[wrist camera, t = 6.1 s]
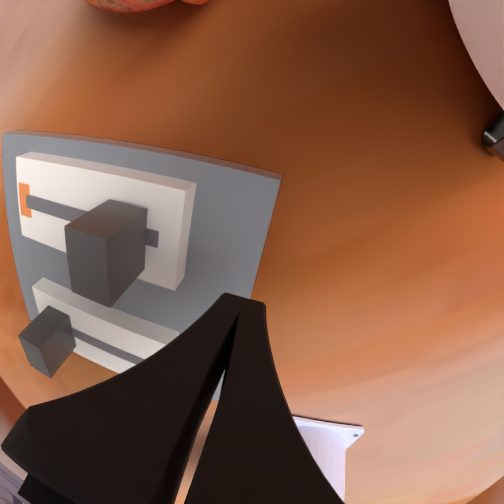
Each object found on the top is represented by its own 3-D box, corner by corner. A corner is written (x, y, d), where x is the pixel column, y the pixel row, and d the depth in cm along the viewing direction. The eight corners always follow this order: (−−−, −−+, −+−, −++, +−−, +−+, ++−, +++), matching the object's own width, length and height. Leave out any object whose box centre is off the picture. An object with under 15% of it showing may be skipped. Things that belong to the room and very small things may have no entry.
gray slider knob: (144, 268, 13) (110, 308, 11) (109, 257, 14) (71, 292, 11) (147, 208, 12) (106, 239, 9) (109, 199, 12) (64, 226, 9)
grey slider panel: (225, 390, 21) (204, 457, 16) (37, 312, 22) (-2, 353, 17) (282, 174, 13) (265, 221, 8) (15, 130, 14) (-54, 152, 9)
